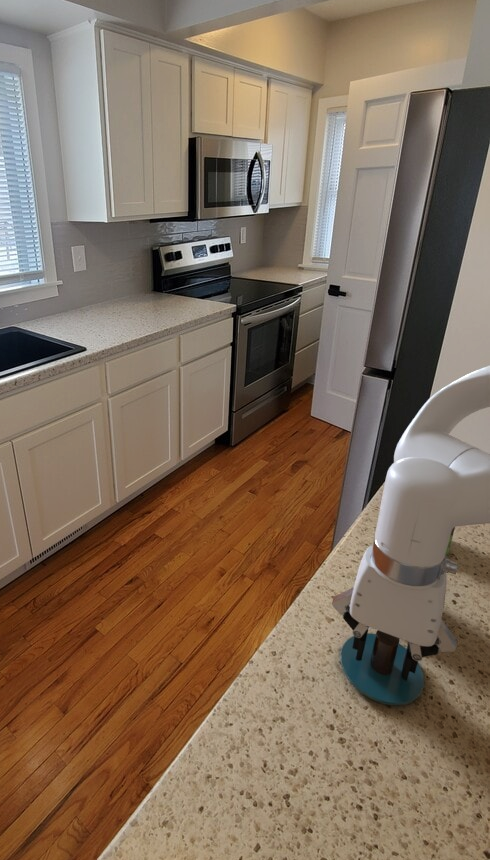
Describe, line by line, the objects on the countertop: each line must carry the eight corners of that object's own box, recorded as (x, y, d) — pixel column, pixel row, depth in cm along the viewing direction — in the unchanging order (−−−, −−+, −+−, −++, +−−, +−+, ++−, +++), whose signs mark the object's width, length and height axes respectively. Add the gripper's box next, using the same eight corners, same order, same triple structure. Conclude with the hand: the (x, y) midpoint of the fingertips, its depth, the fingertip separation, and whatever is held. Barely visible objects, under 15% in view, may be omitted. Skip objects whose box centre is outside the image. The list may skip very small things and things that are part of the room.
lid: (425, 657, 68) (435, 623, 65) (418, 723, 60) (429, 688, 57) (348, 627, 73) (353, 594, 70) (332, 685, 64) (338, 650, 62)
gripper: (489, 561, 57) (455, 667, 64) (339, 518, 65) (324, 617, 72) (490, 606, 51) (453, 717, 58) (325, 552, 59) (311, 656, 66)
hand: (382, 660), depth 65 cm, fingers open, 5 cm apart
